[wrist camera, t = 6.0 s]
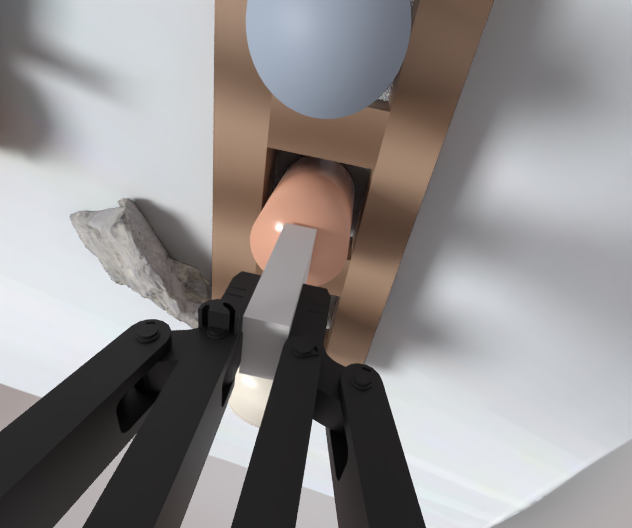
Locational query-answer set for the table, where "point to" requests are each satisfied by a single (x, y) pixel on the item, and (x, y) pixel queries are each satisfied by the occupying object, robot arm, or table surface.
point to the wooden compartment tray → (339, 156)
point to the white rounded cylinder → (250, 397)
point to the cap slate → (328, 51)
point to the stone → (142, 260)
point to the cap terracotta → (309, 215)
